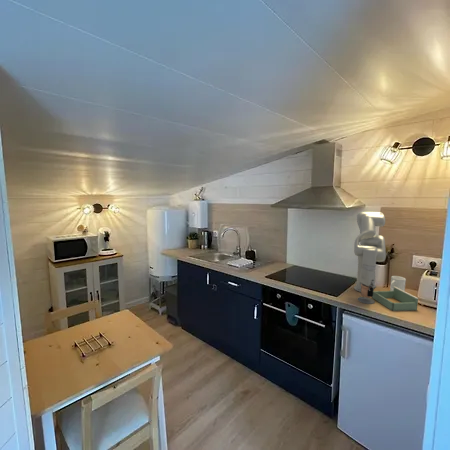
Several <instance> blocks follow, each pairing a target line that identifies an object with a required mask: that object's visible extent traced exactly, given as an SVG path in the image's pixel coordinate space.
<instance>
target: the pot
mask: <svg viewBox="0 0 450 450" xmlns="http://www.w3.org/2000/svg"><path fill="white" fill-rule="evenodd" d="M370 288H371V287H370ZM368 290H369V289H368V286H366V285H364V284H361V292H360V297H367V298H371V299H372V296H367V294H368Z"/></svg>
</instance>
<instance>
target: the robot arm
mask: <svg viewBox="0 0 450 450" xmlns="http://www.w3.org/2000/svg"><path fill="white" fill-rule="evenodd" d="M356 223H357V226H358V228H359V235H357V237H356V238H355V240H354V244H353V245H354V246H353V250H354V251H353V252H354V255H355V256H356V257H357V274H356V281H355V282H354V284H356V285H354V286H353V289H354V290H355V291H357V292H359V293H361V284H364V285H366V286H368V289H369V290H368V294H367V296H373V291H375V289H376V288H377V286H376V265H377V262H380V263H381V262H385V260H386V255H387V253H386V240H385V239H386V238H385V237H384V236H383V235H380V234H376V227H379V228H380V227H384V226H385V224H386V217H385V215H384V213H383V212H381V211H359V212H358V213H357V214H356ZM370 287H371V288H370Z"/></svg>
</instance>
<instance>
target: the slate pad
mask: <svg viewBox="0 0 450 450" xmlns="http://www.w3.org/2000/svg"><path fill="white" fill-rule="evenodd" d="M357 301H358V302H359V303H362V304H367V305H374V304H376V300H375V299H373V298H372V297H371V298H367V297H363V296H359V297H357Z"/></svg>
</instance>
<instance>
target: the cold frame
mask: <svg viewBox="0 0 450 450" xmlns="http://www.w3.org/2000/svg"><path fill="white" fill-rule="evenodd" d="M371 299H373V300H374V301H375V302H378V303H380V305H383V306H385V307H386V308H388V309H389V310H391V311H397V312H398V311H418V306H419V305H418V303H419V297H417V296H415V295H413V294H411V293H410V292H407V291H406V290H405V291H403V290H401V289H399V288H397V287H394V291H390V290H381V291H380V290H374V291H373V296H372V297H371ZM389 299H395V300H397V301H398V302H393V301H392V300H389Z"/></svg>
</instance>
